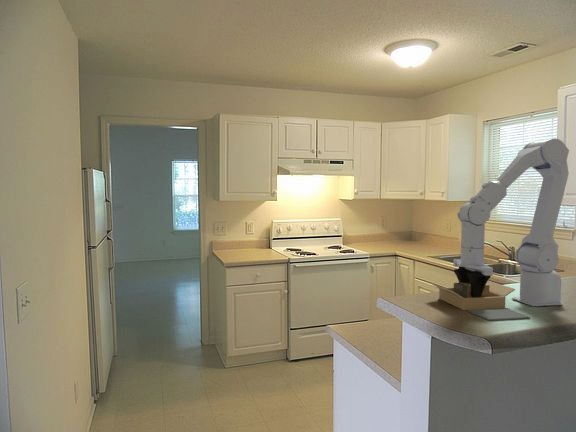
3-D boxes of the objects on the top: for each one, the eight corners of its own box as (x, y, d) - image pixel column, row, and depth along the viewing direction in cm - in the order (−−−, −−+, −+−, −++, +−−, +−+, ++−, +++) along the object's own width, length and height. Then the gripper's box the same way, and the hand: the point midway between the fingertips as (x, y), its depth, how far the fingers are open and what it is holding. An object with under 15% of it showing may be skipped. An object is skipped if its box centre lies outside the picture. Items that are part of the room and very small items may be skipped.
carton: (486, 296, 120) (486, 279, 119) (515, 307, 108) (516, 289, 108) (429, 299, 116) (429, 281, 116) (452, 310, 105) (453, 291, 105)
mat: (506, 309, 106) (506, 307, 106) (530, 318, 98) (530, 317, 98) (467, 311, 104) (468, 309, 104) (488, 320, 97) (488, 319, 97)
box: (479, 299, 115) (480, 281, 115) (488, 303, 111) (489, 285, 111) (453, 300, 114) (453, 282, 113) (461, 304, 110) (462, 286, 109)
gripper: (444, 244, 118) (442, 291, 119) (475, 251, 104) (474, 304, 104) (466, 243, 119) (465, 290, 120) (500, 250, 105) (499, 303, 106)
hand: (471, 297), depth 112 cm, fingers closed on box, 4 cm apart
